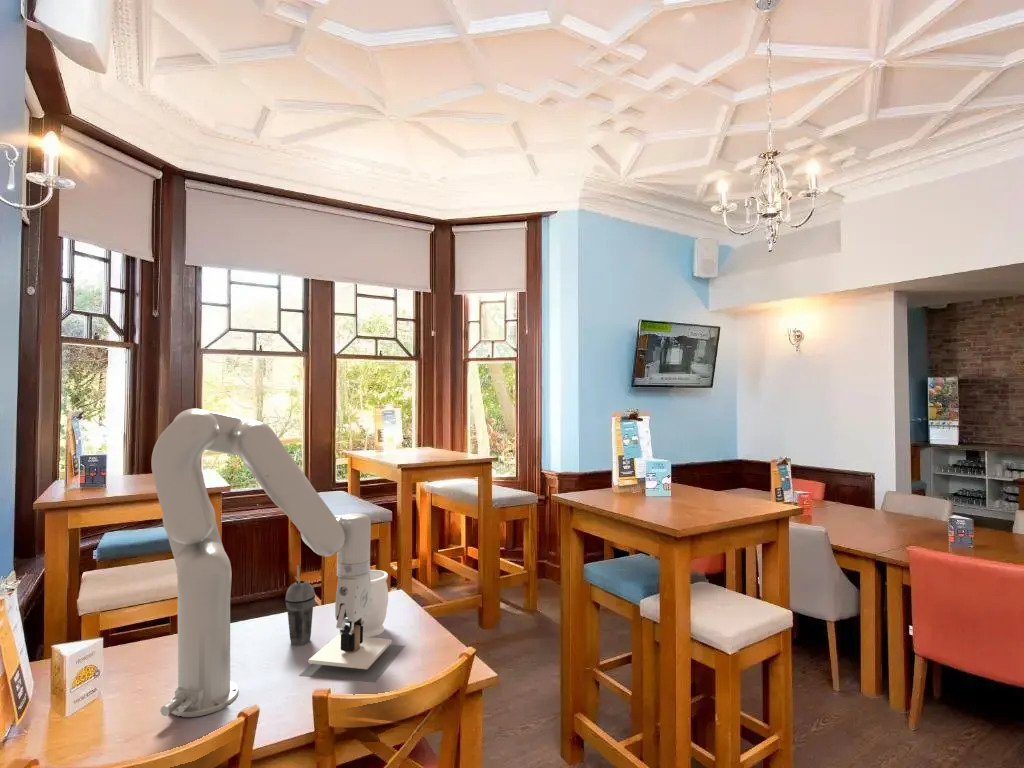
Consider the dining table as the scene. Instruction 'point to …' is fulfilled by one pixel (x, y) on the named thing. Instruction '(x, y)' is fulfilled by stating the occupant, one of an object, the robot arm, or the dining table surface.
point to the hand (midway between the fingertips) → (351, 645)
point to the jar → (376, 604)
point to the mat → (355, 673)
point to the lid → (357, 658)
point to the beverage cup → (300, 611)
